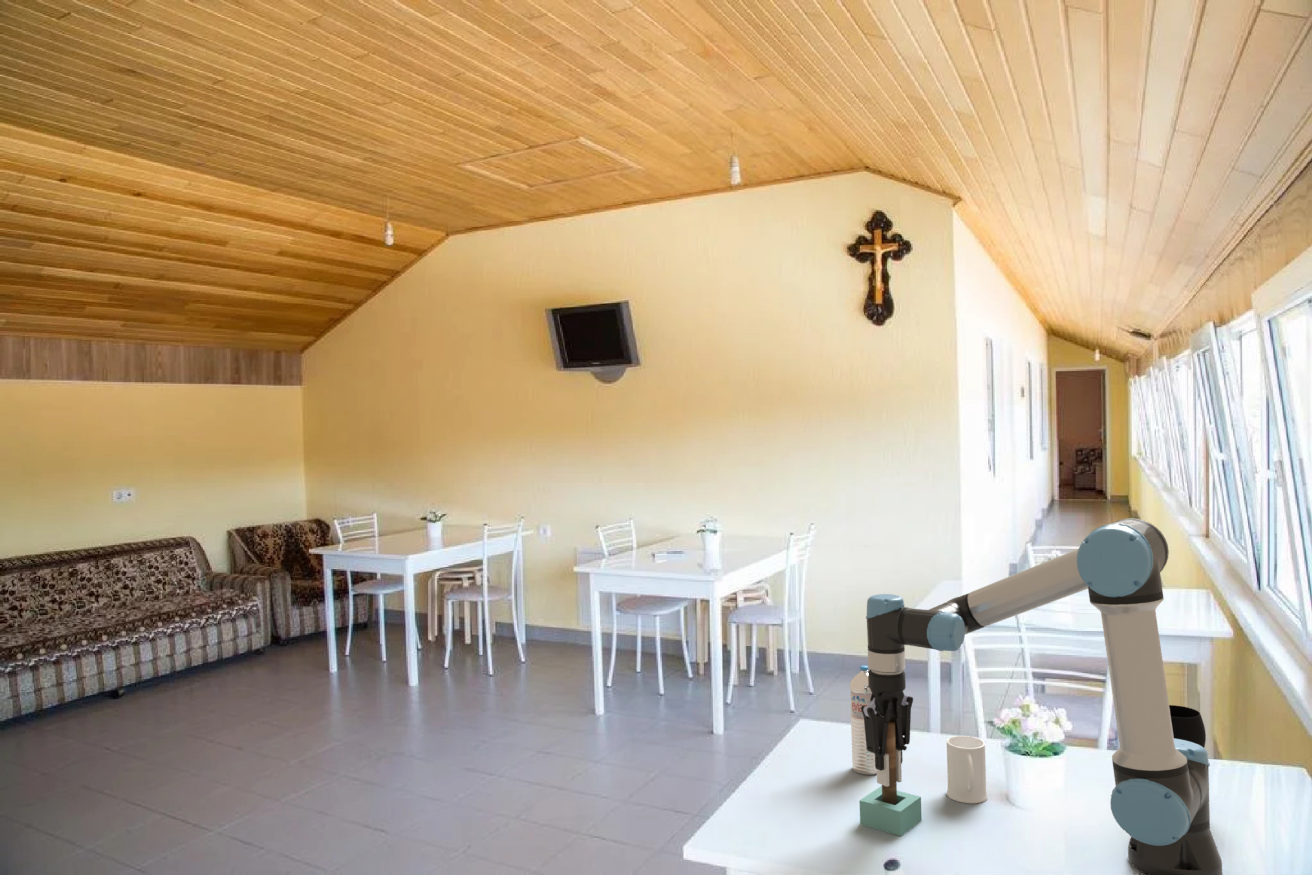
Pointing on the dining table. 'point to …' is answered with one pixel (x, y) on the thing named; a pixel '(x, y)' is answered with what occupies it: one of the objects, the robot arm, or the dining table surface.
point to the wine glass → (1187, 724)
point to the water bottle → (860, 724)
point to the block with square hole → (890, 812)
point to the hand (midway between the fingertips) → (889, 781)
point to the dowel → (891, 767)
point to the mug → (966, 769)
